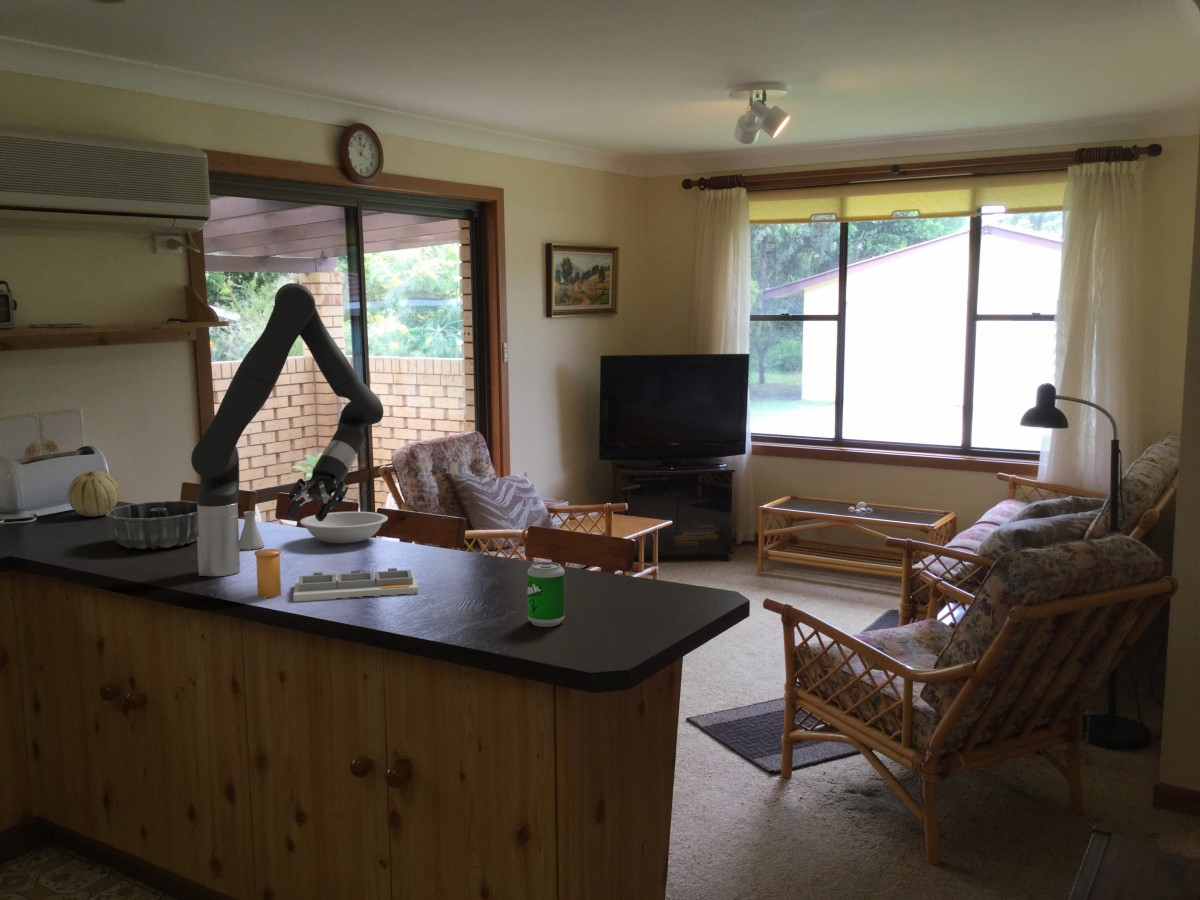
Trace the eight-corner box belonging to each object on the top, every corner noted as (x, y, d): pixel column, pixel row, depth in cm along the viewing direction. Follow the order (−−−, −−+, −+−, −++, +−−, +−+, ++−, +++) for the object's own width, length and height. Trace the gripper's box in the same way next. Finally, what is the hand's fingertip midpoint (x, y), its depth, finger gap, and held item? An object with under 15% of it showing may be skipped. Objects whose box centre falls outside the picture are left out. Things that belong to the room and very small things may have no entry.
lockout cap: (255, 599, 219) (253, 554, 218) (257, 592, 224) (255, 549, 223) (281, 597, 220) (280, 553, 219) (283, 591, 226) (281, 548, 224)
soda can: (564, 617, 206) (564, 560, 204) (564, 627, 198) (564, 569, 197) (528, 617, 206) (528, 560, 204) (526, 628, 198) (526, 569, 197)
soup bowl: (381, 531, 295) (380, 509, 294) (394, 547, 272) (394, 523, 272) (297, 536, 286) (296, 514, 285) (304, 554, 264) (303, 529, 263)
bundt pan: (176, 556, 261) (174, 518, 260) (85, 552, 265) (83, 515, 264) (228, 536, 287) (227, 502, 286) (145, 532, 291) (143, 499, 290)
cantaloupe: (113, 510, 326) (111, 465, 325) (126, 517, 315) (123, 470, 314) (63, 515, 317) (61, 469, 315) (74, 522, 306) (72, 474, 304)
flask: (235, 551, 267) (234, 515, 265) (238, 545, 273) (236, 510, 272) (264, 550, 268) (262, 513, 267) (265, 544, 275) (264, 509, 274)
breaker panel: (293, 601, 217) (293, 587, 216) (296, 585, 230) (295, 572, 230) (418, 593, 224) (418, 580, 223) (413, 578, 237) (413, 566, 237)
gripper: (303, 452, 240) (272, 507, 231) (350, 455, 234) (319, 511, 225) (319, 471, 245) (289, 525, 237) (365, 474, 239) (336, 529, 230)
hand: (304, 518), depth 231 cm, fingers open, 8 cm apart
